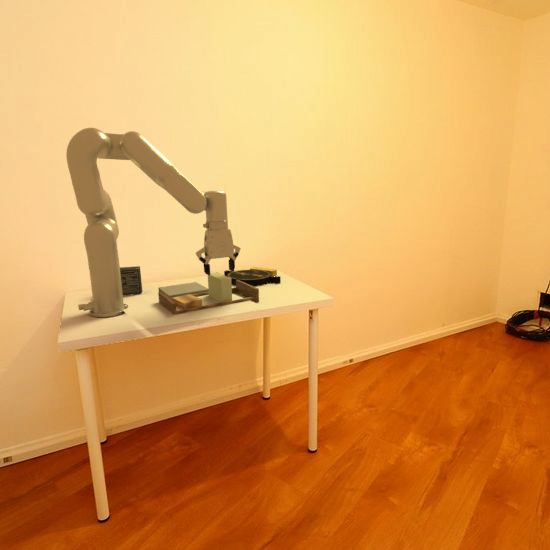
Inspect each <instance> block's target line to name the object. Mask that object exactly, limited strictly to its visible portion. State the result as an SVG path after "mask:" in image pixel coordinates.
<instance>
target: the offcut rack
mask: <svg viewBox="0 0 550 550" xmlns="http://www.w3.org/2000/svg"><path fill="white" fill-rule="evenodd" d="M259 289H260V288H258V287H257V286H251V285H249V284H247V283H245V282H242V281H240V280H236V285H235V287H232V294H235V293H237V292H238V294H239V293H240V294H239V295H241V294H242V296H244V297H243V298H238V299H234V300H233V299H232V301H227V302H222V303H221V302H217V303H212V304H207V305H202V306H200V307H195V308H189V309H184V310H180V309H179V310H177V307H176V303H175V302H174V301H173V300H172V298H169V297H167V296H166V295H165V294H163V293H162V292H159V291H158V293H157V294H158V302H159V304H160V305H162V306H163V307H164V308H165V309H166V310H167V311H169V313H172V315H173V316H174V315H179V314H185V313H191V312H196V311H200V310H206V309H212V308H216V307H222V306H226V305H233V304H237V303H242V302H247V301H250V302H253V303H257V302H258V303H259V302H260V290H259ZM193 296H195V297H197V298H199V297H203V296H209V292H205V293H199V294H193Z"/></svg>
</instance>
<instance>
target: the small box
mask: <svg viewBox="0 0 550 550" xmlns="http://www.w3.org/2000/svg"><path fill="white" fill-rule="evenodd" d="M120 274H121V284H122V293H123V296H128V295H129V296H132V295H131V294H133V295H141V294H142V292H143V284H142V273H141V266H139V265H137V266H124V267H121V266H120Z"/></svg>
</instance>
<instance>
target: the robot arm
mask: <svg viewBox="0 0 550 550" xmlns="http://www.w3.org/2000/svg"><path fill="white" fill-rule="evenodd" d="M65 156H66V163H67V167H68V173H69V175H70V180H71V184H72V185H71V186H72V187H73V193H74V195H75V196H74V197H75V200H76V205H77V207H78V209H79V210H80V212H81V213H83V214H84V215H85V218H86V222H87V226H86V227H85V229H84V232H83V241H84V246H85V251H86V256H87V264H88V270H89V278H90V285H91V286H90V287H91V294H92V298H91V299H90V301H88V303H80V304H77V305H78V306H77V307H78V310H79V311H82V310H83V312H86V311H89V315H90V316H91V317H95V318H109V317H110V318H111V317H114V316H115V317H116V316H119V315H123V314H125V313H126V311H125V310H127V309H128V308H129V305H128V304H126V303H125V302H124V297H123V296H124V295H123V293H122V284H121V274H120V267H121V266H120V259H119V252H118V244H117V242H118V241H117V240H118V237H119V234H120V233H119V232H120V230H119V229H120V228H119V225H118V222H117V217H116V213H115V210H114V204H113V202H112V199H111V196H110V194H109V193H108V192H107V190H105V189H104V187H103V183H102V179H101V175H100V174H101V173H100V171H99V167H98V162H97V160H98V159H103V160H115V161H116V160H118V161H119V160H120V161H121V160H122V161H131V162H132V163H133V164H134V165H135V166H136V167H137V168H139V169H140V170H141V172H143V173H144V175H146V176H147V177H148V178H149V179H150V180H151V181H153V182H154V183H155V184H156V185H157V186H158V187H160V188H161V189H163V190H165V191H166V192H167V193H168V194H169V195H170V196H171V197H172V198H174V199H175V200H176V201H177V202H178V203H179V204H180V205H181V206H182V207H183V208H184V209H185V210H186V211H188V212H189V213H190V214H194V215H195V214H197V215H198V214H201V213H202V212H204V211H205V216H206V217H205V219H206V221H205V223H203V224H202V227H203V228H205V229H206V230H205V232H204V239H203V240H204V241H203V247H202V248H200V249H199V250H196V252H195V256H196V257H197V259H198V260H199V261H200V262H201V263H202V264H203V273H204V274H205V275H207V276H208V275H210V273H211V264H210V261H211V260H212V259H213V260H214V259H222V258H223V259H225V258H228V270H229V271H235V269H236V259H237V258H238V257H239V253H240V252H241V247H240V246H238V245H235V244H234V240H233V236H232V231H231V229H230V228H229V222H228V221H229V220H228V203H227V201H228V199H227V193H226V192H225V191H223V190H208V191H200V190H199V188H197V187H196V186H195V185H194V184H193V183H192V182H191V181H190V180H189V179H188V178H186V176H184V175H183V174H182V173H181V172H180V170H178V169H177V167H176V166H175V165H174V164H173V163H172V162H171V161H170V160H168V159H167V158H166V156H164V154H162V153H161V152H160V151H159V150H158V149H157V148H156V147H155V146H154V145H153V144H152V143H151V142H150V141H149V140H148V139H146V137H144V136H143V135H142V134H141V133H139V132H137V131H127V132H125V133H124V134H123V133H111V132H110V133H108V132H104V131H102V130H100V129H98V128H97V127H86V128H82V129H81V130H79V131H77V132H76V133H75V134H74V135H73V136H72V137H71V139H70V140H69V142H68V144H67V147H66V155H65ZM202 254H204V257H203V256H202Z"/></svg>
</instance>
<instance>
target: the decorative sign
mask: <svg viewBox="0 0 550 550" xmlns="http://www.w3.org/2000/svg"><path fill="white" fill-rule="evenodd" d="M277 273H278V271H277V269H276V268H268V267H258V266H253V267H250V268H249V269H239V270H234V271H231V270H229V269H228V270H227V269H226V270H223V275H225V276H227V277H229V278H231V282H232V284H233V285H232V286H236V280H240V281H242V282H245V283H247V284H249V285H251V286H254V287H258V285H260V286H264V284H265V285H268V284H276V283H277V284H281V282H282V281H281V276H280V275H277ZM276 275H277V276H276ZM274 276H275V277H274ZM267 283H268V284H267Z"/></svg>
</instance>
